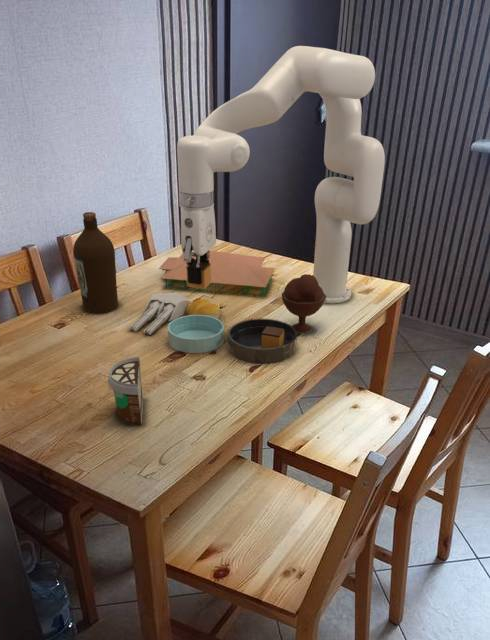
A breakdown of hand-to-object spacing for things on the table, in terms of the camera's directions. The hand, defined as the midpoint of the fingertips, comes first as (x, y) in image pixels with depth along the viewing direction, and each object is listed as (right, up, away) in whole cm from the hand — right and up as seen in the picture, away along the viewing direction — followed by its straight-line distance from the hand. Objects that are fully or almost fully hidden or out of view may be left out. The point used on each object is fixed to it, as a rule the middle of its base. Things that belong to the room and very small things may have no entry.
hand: (198, 278), depth 156 cm
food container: (-14, -32, -16) cm, 39 cm away
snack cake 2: (+18, -16, +6) cm, 24 cm away
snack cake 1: (0, -1, +1) cm, 1 cm away
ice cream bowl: (+25, -9, +16) cm, 31 cm away
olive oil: (-28, -1, +27) cm, 40 cm away
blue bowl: (-1, -13, +10) cm, 17 cm away
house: (+3, +11, +44) cm, 46 cm away
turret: (-11, -6, +21) cm, 24 cm away
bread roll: (0, -4, +23) cm, 23 cm away
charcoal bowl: (+15, -15, +7) cm, 23 cm away
